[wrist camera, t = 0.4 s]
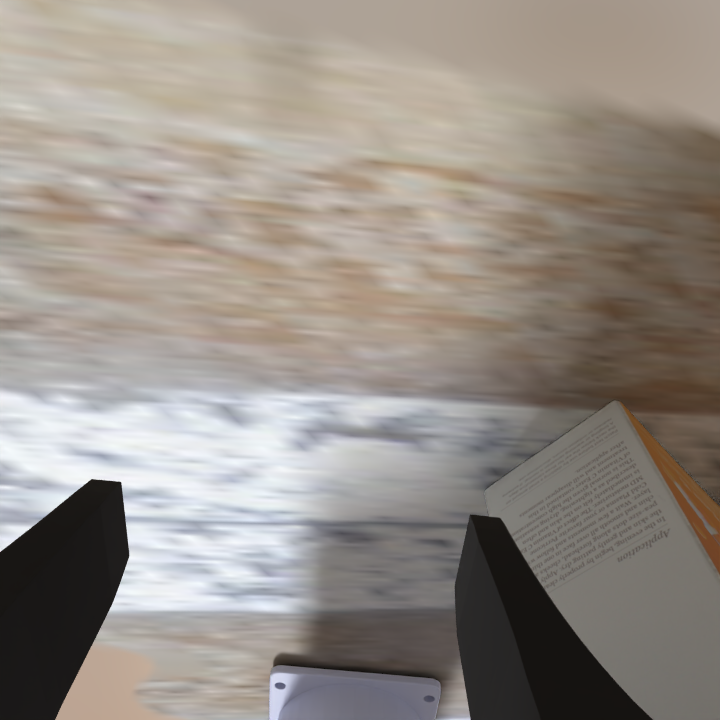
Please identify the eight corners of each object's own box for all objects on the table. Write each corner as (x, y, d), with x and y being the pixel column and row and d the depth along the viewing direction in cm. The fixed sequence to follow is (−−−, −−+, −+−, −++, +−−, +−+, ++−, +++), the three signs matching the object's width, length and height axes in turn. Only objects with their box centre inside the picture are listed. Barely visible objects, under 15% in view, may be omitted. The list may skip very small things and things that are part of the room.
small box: (738, 519, 25) (1021, 939, 14) (601, 596, 28) (748, 1010, 16) (617, 390, 23) (842, 775, 12) (477, 487, 25) (550, 888, 14)
